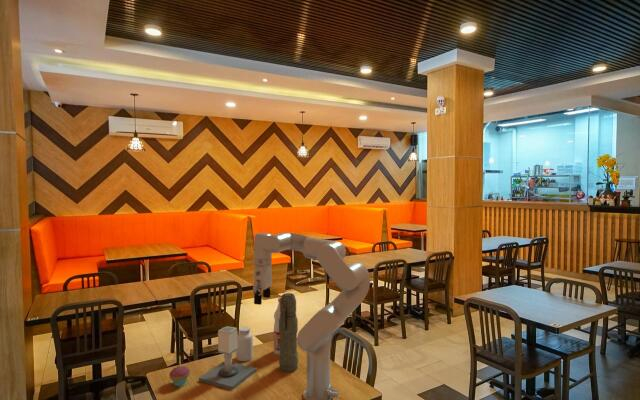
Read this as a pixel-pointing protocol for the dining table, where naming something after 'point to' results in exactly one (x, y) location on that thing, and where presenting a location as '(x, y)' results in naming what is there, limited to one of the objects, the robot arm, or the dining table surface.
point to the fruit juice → (277, 330)
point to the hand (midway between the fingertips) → (262, 300)
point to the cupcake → (179, 374)
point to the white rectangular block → (227, 340)
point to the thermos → (288, 333)
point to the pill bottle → (244, 344)
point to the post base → (227, 374)
